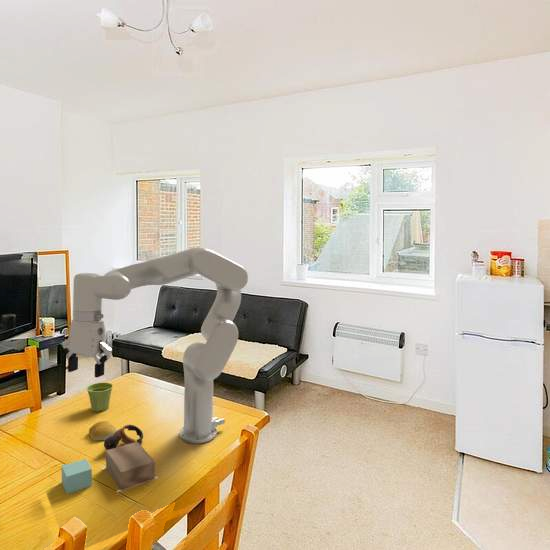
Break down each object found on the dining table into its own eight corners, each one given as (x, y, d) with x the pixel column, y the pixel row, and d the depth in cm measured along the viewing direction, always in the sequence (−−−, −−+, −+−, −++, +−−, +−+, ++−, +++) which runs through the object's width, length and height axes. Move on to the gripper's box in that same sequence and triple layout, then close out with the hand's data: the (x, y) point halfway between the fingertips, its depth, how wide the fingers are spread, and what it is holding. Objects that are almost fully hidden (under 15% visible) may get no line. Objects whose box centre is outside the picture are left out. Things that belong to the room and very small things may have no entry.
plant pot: (101, 415, 152) (101, 393, 151) (81, 411, 154) (80, 389, 154) (118, 406, 160) (118, 384, 160) (98, 402, 163) (98, 381, 162)
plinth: (137, 457, 123) (137, 441, 122) (154, 478, 112) (154, 461, 112) (106, 467, 117) (105, 450, 116) (121, 490, 107) (121, 472, 106)
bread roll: (95, 444, 132) (94, 432, 132) (86, 433, 139) (86, 422, 138) (120, 436, 137) (120, 425, 137) (111, 426, 144) (111, 415, 144)
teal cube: (85, 479, 113) (85, 458, 113) (91, 490, 109) (91, 469, 108) (61, 487, 110) (61, 465, 109) (66, 499, 105) (66, 476, 104)
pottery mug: (124, 439, 136) (136, 420, 135) (138, 461, 131) (151, 441, 130) (92, 445, 126) (105, 424, 125) (107, 469, 121) (120, 447, 120)
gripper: (120, 317, 120) (119, 374, 122) (73, 310, 126) (72, 365, 127) (102, 321, 113) (100, 382, 115) (53, 314, 118) (52, 372, 120)
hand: (86, 373), depth 121 cm, fingers open, 9 cm apart
